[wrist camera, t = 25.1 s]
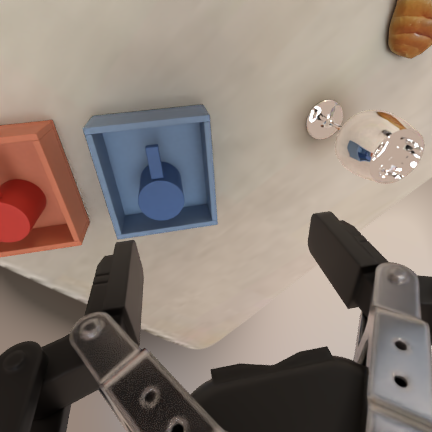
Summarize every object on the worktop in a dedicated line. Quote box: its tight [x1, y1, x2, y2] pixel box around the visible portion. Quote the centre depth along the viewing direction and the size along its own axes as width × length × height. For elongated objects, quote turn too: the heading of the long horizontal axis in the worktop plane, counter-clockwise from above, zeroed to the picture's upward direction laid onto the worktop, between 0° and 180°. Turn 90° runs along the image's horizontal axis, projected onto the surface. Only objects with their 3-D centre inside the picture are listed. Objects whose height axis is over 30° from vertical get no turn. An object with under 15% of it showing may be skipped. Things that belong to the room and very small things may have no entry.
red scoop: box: [0, 179, 46, 242], centre depth 28 cm, size 8×5×5 cm, turn 4°
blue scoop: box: [138, 144, 184, 220], centre depth 30 cm, size 8×5×5 cm, turn 4°
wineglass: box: [306, 100, 424, 184], centre depth 28 cm, size 6×6×12 cm
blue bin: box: [83, 104, 218, 239], centre depth 31 cm, size 12×11×5 cm
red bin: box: [0, 120, 90, 257], centre depth 29 cm, size 12×11×5 cm
